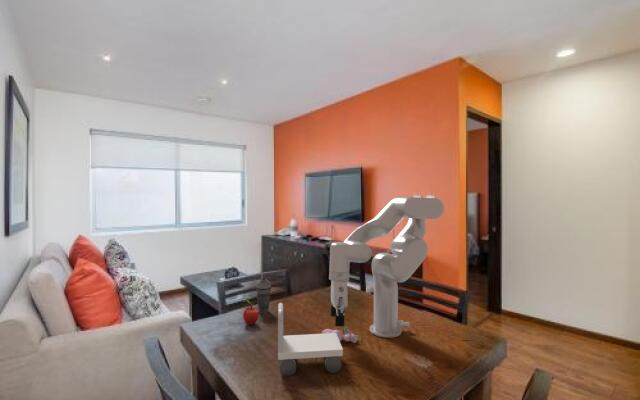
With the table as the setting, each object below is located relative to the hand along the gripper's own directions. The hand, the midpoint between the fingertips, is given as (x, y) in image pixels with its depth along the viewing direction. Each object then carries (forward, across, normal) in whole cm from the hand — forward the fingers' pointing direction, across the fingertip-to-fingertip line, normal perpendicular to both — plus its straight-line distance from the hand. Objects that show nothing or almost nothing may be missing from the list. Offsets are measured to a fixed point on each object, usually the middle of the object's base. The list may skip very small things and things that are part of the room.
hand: (337, 320), depth 119 cm
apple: (+9, +20, +34) cm, 40 cm away
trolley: (+8, -15, +12) cm, 20 cm away
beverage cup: (+9, +34, +29) cm, 46 cm away
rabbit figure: (+8, 0, -2) cm, 8 cm away
